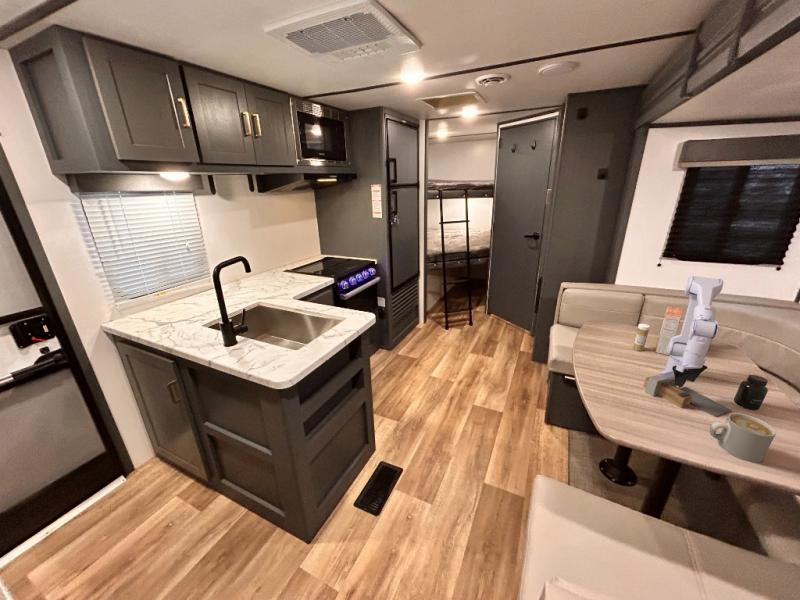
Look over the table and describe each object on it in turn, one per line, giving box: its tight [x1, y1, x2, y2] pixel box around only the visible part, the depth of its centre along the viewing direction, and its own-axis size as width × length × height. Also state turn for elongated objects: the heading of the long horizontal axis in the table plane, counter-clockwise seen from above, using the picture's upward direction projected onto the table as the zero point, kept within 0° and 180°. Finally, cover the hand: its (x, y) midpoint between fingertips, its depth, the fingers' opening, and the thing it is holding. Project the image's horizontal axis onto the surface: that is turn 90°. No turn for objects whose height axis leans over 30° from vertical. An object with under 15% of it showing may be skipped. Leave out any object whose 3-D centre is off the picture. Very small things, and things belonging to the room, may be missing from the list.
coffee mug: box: [708, 412, 777, 463], centre depth 97 cm, size 13×10×10 cm
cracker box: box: [654, 305, 683, 357], centre depth 154 cm, size 14×6×21 cm, turn 138°
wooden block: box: [643, 375, 692, 409], centre depth 122 cm, size 4×14×5 cm, turn 17°
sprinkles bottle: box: [632, 323, 651, 352], centre depth 155 cm, size 5×5×13 cm
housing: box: [644, 371, 678, 397], centre depth 125 cm, size 13×3×7 cm, turn 108°
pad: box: [679, 386, 733, 417], centre depth 119 cm, size 9×15×1 cm, turn 18°
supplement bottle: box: [733, 374, 769, 411], centre depth 115 cm, size 7×7×12 cm
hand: (684, 383), depth 117 cm, fingers open, 7 cm apart
